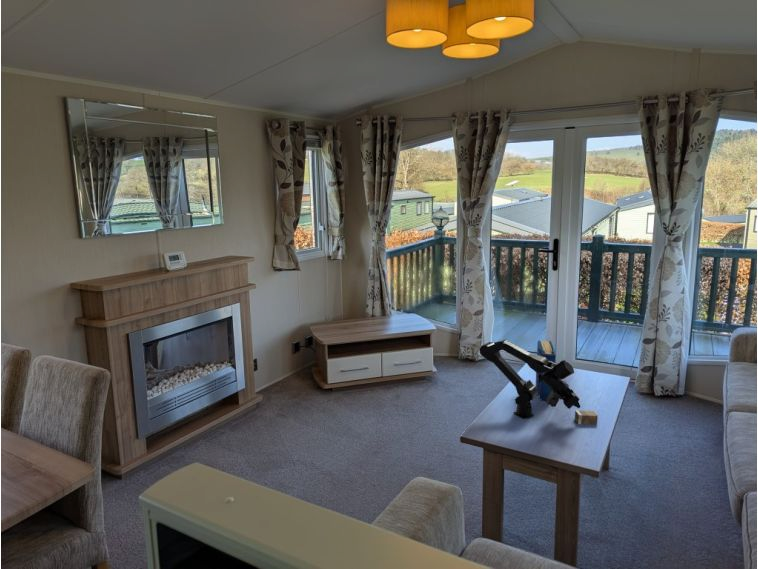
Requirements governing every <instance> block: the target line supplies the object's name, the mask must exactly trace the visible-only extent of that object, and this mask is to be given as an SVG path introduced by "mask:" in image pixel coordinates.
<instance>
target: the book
mask: <svg viewBox="0 0 758 569" xmlns="http://www.w3.org/2000/svg"><path fill="white" fill-rule="evenodd" d="M536 346H537V347H536V348H537V349H536V355H539V356H542V357H545V358H547V359H548V360H549V361H551V362H553V363H555V364H556V356H557V355H556V350H555V349H556V348H555V346H554V343H553V342H552V341H551V340H549V341H548V340H537V345H536ZM543 373H545V372H543ZM543 373H537V372H535V386H536V387H535V388H536V389H537V396H538V397H539V400H540V401H543V402H546V400H547V398H548V396H549V394H550V393H551V391H552V389H551V388H550V387H549V386H548V385H547V384H546V383H545V382H544V381H541V382H538V380H539V378H538V375H539V374H543Z"/></svg>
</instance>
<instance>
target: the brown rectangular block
mask: <svg viewBox="0 0 758 569" xmlns="http://www.w3.org/2000/svg"><path fill="white" fill-rule="evenodd" d="M574 411H575V412H574V420H575V421H576V423H577V422H578V423H577V424H578V425H598V417H599V415H598V414H597V413H596V412H595V411H594V410H574Z"/></svg>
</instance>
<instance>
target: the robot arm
mask: <svg viewBox="0 0 758 569" xmlns="http://www.w3.org/2000/svg"><path fill="white" fill-rule="evenodd" d="M500 351H504V352H505V353H507V354H509V355H511V356H513V357H515V358H516V359H519V360H520V361H522V362H524V363H525V364H527V366H528V367H529V368H530V369H531V370H533V371H534V372H535V373H536V372H537V373H543V372H545V373H543V374H539V375H538V378H539V380H538V382H541V381H544V382H545V383H546V384H547V385H548V386H549V387H550V388H551V389H552V391H551V393H550V394H549V396H548V398H547V400H546V401H545V402H546V403H547V405H548V406H550V407H551V408H552V407H554V408H556V407H557V404H558V402H559V400H562V401H563V402H562V403H563V404H564V406H565V407H566V408H567V409H571V408H572V407H576V408H577V409H580V408H581V404H580V397H578V395H577V394H576V393H575V392H574V391H573V389H571V388H570V385H569V384H568V383H567V382H566V381H563V380H564V379H566V378H567V377H570V376H571V375H573V374H574V373H575V370H574V367H573V365H572V364H570V363H569V362H568V361H566V360H565V359H563V360H561V361H560V362H558V363H556V362H555V363H553V362H551V361H549V360H548V359H547V358H545V357H542V356H539V355H537V354H533V353H531V352H529V351H527V350H525V349H523V348H521V347H519V346H518V345H516V344H514V343H512V342H510V341H509V340H508V339H502V340H500V341H495V342H493V341H492V342H491V341H489V342H488V341H487V342H486V343H484V344H483V345H480V347H479V354H480V355H481V356H482V357H483V358H484V359H485V360H487V361H488V362H491V363H493V364H494V366H495V367H497V369H498V370H499V371H500V372H501V373H502V374H503V375H504V376H505V377H506V378H507V380H509V382H510V383H511V384H512V386H514V387H515V390H516V393H517V394H518V396H517V397H516V398H515V399H514V402H515V404H516V411H514V412H513V414H514V415H515V416H518V417H520V418H521V419H527V418H530V417H534V416H535V414H533V412H532V411H533V407H532V403H531V401H533V400H534V399H535V398H536V397H537V396H538V393H537V389H536V384H534V383H533V382H532V381H531V380H530V379H529V380H525V379H523V378H522V377H521V376H520V375H519V374H518V372H517V371H515V369H514V368H513V367H512V366H511V365H510V364H509V362H507V360H505V358H504V357H503V356H502V355H501V352H500Z"/></svg>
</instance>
